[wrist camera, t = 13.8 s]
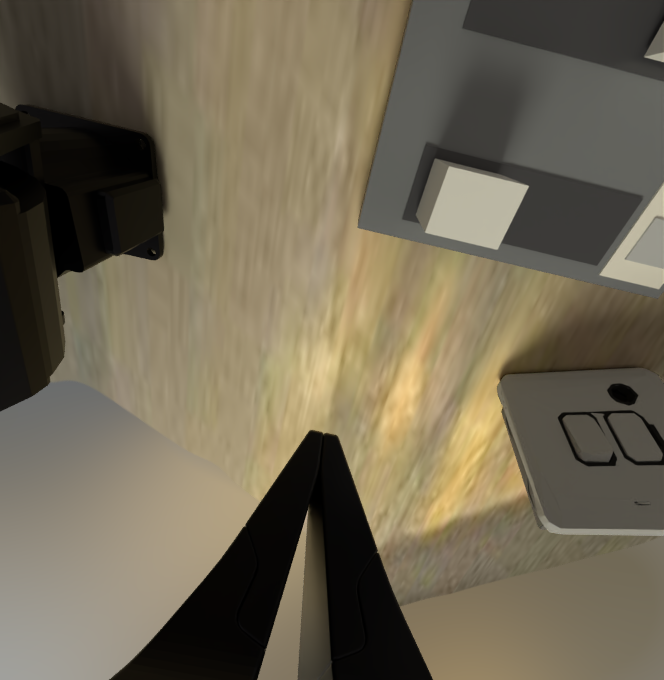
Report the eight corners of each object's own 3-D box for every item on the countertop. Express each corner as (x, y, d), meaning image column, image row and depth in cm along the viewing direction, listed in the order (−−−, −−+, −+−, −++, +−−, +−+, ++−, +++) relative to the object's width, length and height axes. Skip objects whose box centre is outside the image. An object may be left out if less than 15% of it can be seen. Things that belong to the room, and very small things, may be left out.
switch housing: (358, 220, 18) (357, 228, 16) (569, -647, 7) (617, -829, 6) (638, 286, 18) (660, 300, 17) (1201, -424, 8) (1381, -541, 7)
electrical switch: (650, 363, 21) (798, 513, 14) (619, 415, 24) (726, 559, 17) (494, 371, 23) (555, 511, 15) (484, 419, 26) (531, 554, 19)
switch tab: (415, 214, 16) (424, 232, 13) (434, 158, 14) (448, 166, 12) (476, 229, 16) (497, 249, 13) (501, 174, 14) (529, 186, 12)
